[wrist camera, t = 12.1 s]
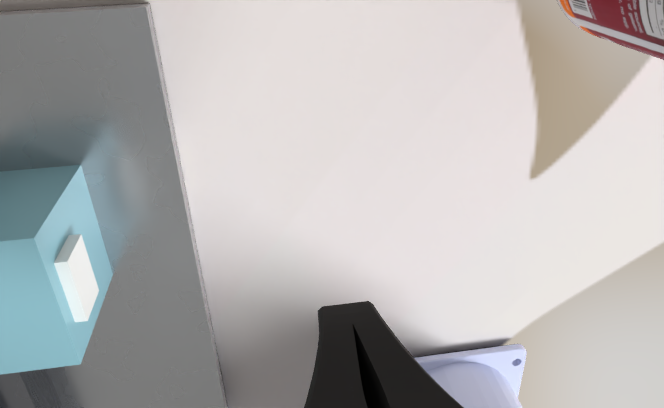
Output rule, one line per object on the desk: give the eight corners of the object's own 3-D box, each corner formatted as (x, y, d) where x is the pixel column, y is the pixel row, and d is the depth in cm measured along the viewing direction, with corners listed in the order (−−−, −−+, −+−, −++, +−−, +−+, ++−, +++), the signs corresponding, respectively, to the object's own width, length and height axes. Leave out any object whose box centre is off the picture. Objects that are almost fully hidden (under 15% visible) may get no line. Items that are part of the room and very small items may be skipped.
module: (123, 273, 22) (93, 363, 18) (11, 285, 21) (-49, 380, 17) (92, 163, 19) (48, 236, 15) (-36, 174, 19) (-118, 253, 15)
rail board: (232, 431, 29) (231, 483, 26) (38, 459, 28) (17, 516, 25) (149, 3, 18) (133, 19, 15) (-174, 21, 17) (-251, 42, 14)
